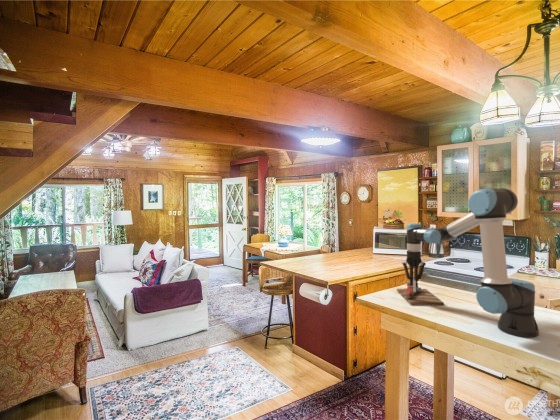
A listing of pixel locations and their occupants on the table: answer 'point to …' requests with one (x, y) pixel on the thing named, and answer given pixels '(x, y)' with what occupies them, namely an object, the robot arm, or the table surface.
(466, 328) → the table surface
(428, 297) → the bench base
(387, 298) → the table surface
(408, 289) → the lever
